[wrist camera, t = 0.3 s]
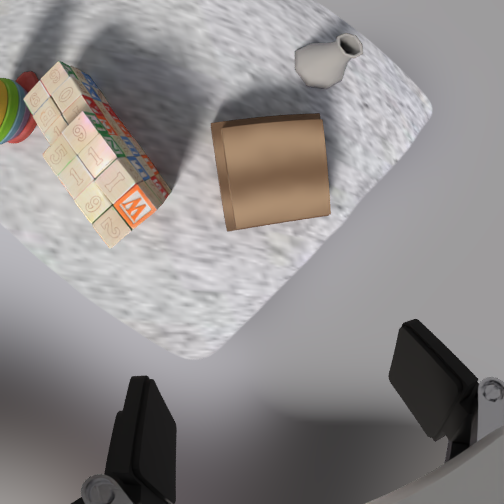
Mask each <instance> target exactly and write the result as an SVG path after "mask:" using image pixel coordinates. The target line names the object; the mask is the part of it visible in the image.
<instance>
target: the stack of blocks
mask: <svg viewBox="0 0 504 504" xmlns="http://www.w3.org/2000/svg"><path fill="white" fill-rule="evenodd" d="M24 102H25V103H26V105H27V107H28V108H29V110H30V112H31V113H32V115H33V118H34V119H35V121H36V123H37V124H38V126H39V128H40V129H41V131H42V132H43V134H44V136H45V137H46V139H47V141H48V142H49V144H50V145H51V146H50V147H49V148H48V149H47V150H46V151H45V152H44V153H43V157H44V158H45V160H46V161H47V163H48V164H49V166H50V167H51V169H52V170H53V172H54V173H55V175H56V176H58V178H59V179H60V181H61V182H62V184H63V185H64V187H65V188H66V189H67V191H68V192H69V194H70V195H71V196H72V197H73V198H74V201H75V203H76V204H77V206H78V207H79V208H80V210H81V211H82V212H83V214H84V215H85V216H86V218H87V219H88V220H89V222H90V223H92V226H93V228H94V229H95V230H96V231H97V233H98V234H99V235H100V237H101V238H102V239H103V240H104V242H105V243H106V244H107V245H108V247H109V248H112V247H113V246H114V245H115V244H117V243H118V242H119V241H120V240H121V239H123V238H124V237H125V236H126V235H127V234H129V233H130V232H131V231H132V229H134V228H136V227H137V226H138V225H139V224H141V223H142V222H143V221H144V220H145V219H147V218H148V217H149V216H150V215H152V214H153V213H154V212H155V211H156V210H157V209H158V208H159V207H160V206H161V205H162V204H163V203H164V201H165V200H166V198H167V197H168V195H169V194H170V193H171V192H172V191H171V189H170V188H169V187H168V185H167V184H166V182H165V181H164V180H163V178H162V177H161V176H160V174H159V172H158V170H157V169H156V168H155V166H154V165H153V164H152V162H151V161H150V160H149V158H148V157H147V155H146V154H145V153H144V151H143V150H142V148H141V147H140V146H139V144H138V143H137V141H136V140H135V139H134V138H133V137H132V136H131V134H130V133H129V132H128V131H127V129H126V128H125V126H124V125H123V123H122V122H121V121H120V120H119V119H118V117H117V116H116V114H115V113H114V112H113V110H112V109H111V107H110V106H109V103H108V101H107V100H106V99H105V97H104V96H103V94H102V93H101V91H100V90H99V89H98V88H97V86H96V85H95V83H94V82H93V80H92V79H91V77H90V76H89V75H87V74H85V73H83V72H82V71H80V70H78V69H77V68H75V67H73V66H69V65H67V64H65V63H63V62H61V61H58V62H57V63H56V64H55V65H54V66H53V67H52V68H51V69H50V70H49V71H48V72H47V73H46V74H45V75H44V76H43V77H42V78H41V80H40V81H39V82H38V83H37V84H36V85H35V86H34V87H33V88H32V89H31V91H30V92H29V93H28V94H27V95H26V96H25V98H24Z"/></svg>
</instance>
